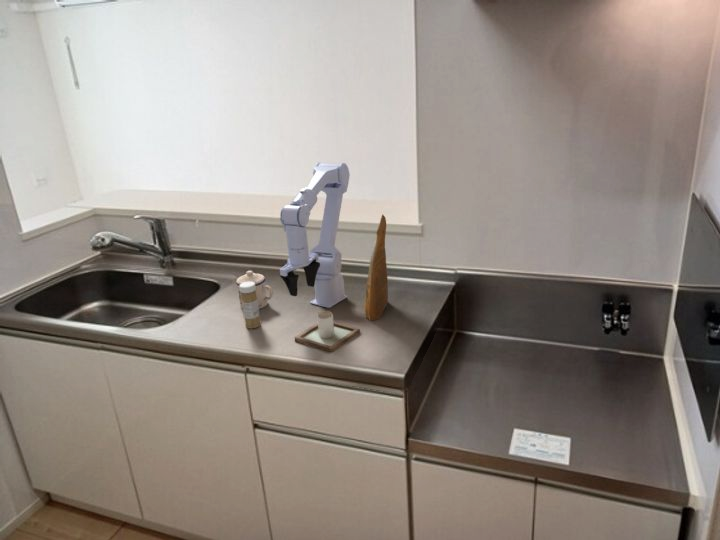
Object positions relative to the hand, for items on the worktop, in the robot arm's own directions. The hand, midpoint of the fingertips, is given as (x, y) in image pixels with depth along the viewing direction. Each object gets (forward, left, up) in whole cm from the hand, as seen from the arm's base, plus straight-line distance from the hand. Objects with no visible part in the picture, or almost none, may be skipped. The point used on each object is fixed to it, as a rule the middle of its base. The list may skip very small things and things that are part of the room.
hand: (302, 290), depth 166 cm
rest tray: (+4, +12, -10) cm, 16 cm away
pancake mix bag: (-17, +15, -10) cm, 25 cm away
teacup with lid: (-1, -21, -10) cm, 23 cm away
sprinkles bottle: (+10, -12, -10) cm, 19 cm away
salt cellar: (+4, +12, -9) cm, 16 cm away
